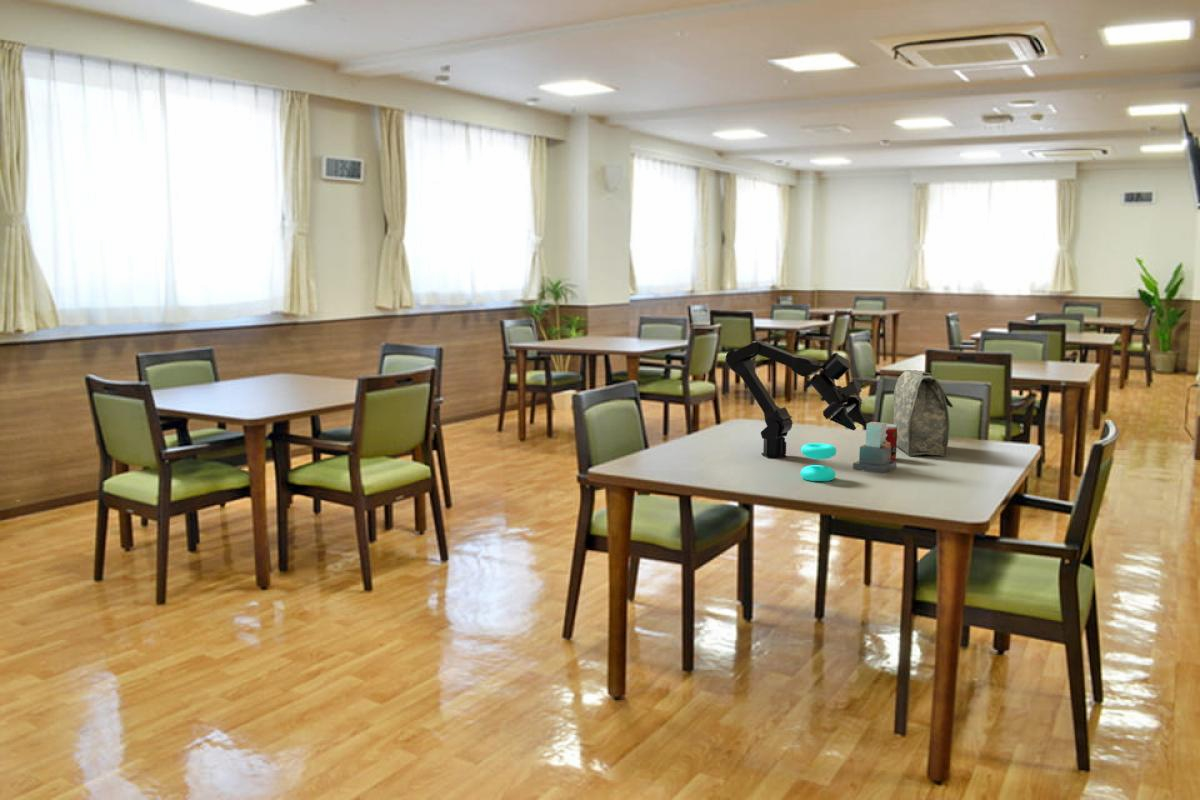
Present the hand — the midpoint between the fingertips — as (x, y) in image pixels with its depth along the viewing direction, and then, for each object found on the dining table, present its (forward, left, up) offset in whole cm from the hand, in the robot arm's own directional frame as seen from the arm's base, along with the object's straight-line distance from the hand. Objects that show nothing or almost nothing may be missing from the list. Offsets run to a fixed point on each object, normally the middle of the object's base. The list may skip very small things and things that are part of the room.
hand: (860, 427), depth 299 cm
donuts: (-20, -14, -13) cm, 27 cm away
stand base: (+3, -4, -12) cm, 13 cm away
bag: (+32, +21, -13) cm, 41 cm away
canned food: (+13, +10, -12) cm, 21 cm away
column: (+4, -4, -10) cm, 11 cm away
